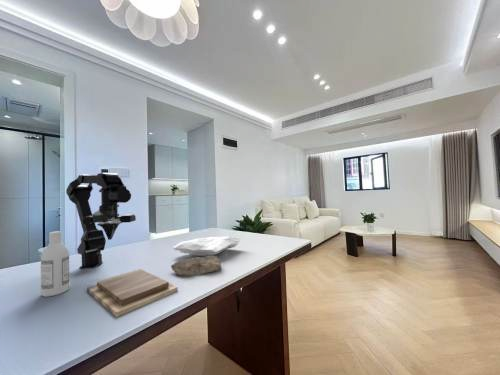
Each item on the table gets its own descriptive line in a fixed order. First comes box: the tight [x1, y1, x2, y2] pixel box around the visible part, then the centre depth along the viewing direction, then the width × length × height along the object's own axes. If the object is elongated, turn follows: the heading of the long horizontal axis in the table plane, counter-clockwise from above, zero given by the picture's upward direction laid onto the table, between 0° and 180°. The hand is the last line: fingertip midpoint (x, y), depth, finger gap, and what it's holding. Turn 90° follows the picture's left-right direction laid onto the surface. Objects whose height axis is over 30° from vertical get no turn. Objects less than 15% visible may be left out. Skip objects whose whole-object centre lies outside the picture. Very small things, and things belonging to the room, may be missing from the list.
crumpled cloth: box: [172, 236, 241, 257], centre depth 109 cm, size 24×35×9 cm
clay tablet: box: [170, 255, 222, 277], centre depth 88 cm, size 14×5×20 cm
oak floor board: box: [86, 282, 178, 318], centre depth 70 cm, size 25×18×1 cm
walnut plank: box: [96, 268, 170, 306], centre depth 70 cm, size 2×14×20 cm
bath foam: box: [40, 230, 70, 298], centre depth 71 cm, size 7×7×20 cm
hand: (110, 239), depth 89 cm, fingers closed
